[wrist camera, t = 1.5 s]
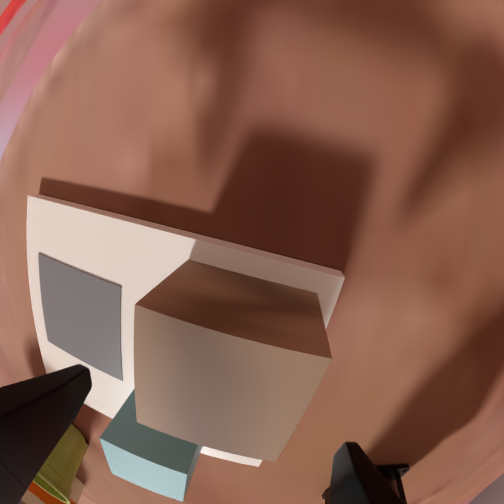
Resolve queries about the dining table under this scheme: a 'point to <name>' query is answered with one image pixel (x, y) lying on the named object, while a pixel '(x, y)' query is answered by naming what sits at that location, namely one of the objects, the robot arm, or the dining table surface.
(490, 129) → the dining table surface
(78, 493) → the reusable coffee cup
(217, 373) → the walnut block
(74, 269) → the board
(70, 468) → the plant pot
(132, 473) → the teal cube
